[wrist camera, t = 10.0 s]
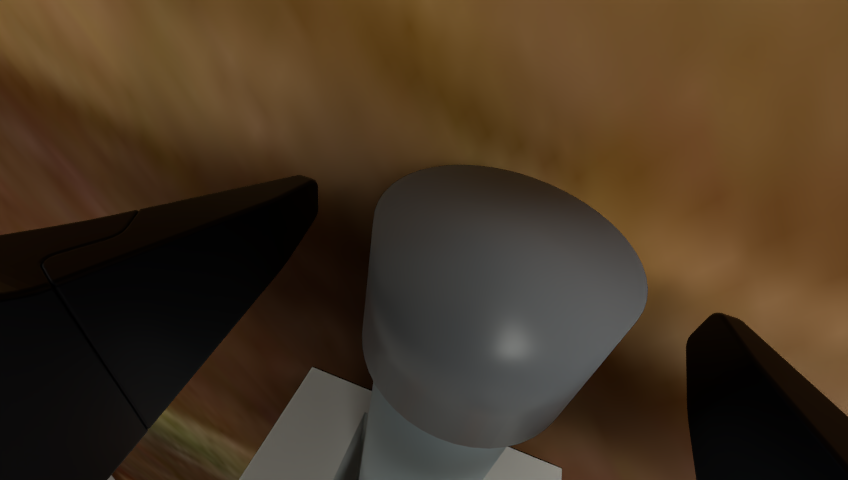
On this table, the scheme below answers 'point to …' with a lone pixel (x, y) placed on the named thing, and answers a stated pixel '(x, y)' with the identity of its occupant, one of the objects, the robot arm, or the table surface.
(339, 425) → the housing
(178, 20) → the table surface
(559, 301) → the cartridge
